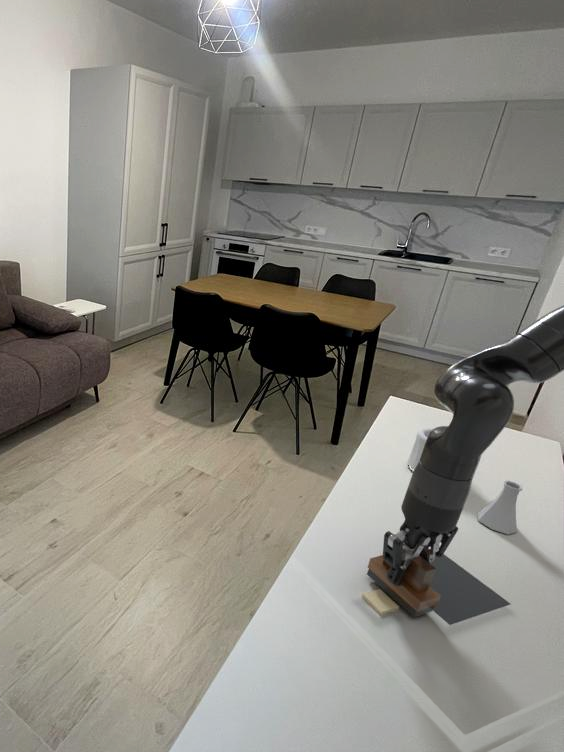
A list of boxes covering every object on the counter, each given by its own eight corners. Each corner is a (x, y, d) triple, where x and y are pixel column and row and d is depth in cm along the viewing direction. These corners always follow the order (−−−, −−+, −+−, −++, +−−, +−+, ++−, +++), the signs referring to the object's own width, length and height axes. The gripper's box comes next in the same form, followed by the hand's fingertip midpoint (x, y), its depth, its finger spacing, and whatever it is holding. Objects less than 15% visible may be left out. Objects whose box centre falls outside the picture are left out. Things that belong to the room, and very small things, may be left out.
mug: (444, 489, 119) (458, 452, 115) (398, 467, 127) (410, 433, 123) (466, 473, 126) (480, 439, 123) (422, 454, 134) (434, 421, 131)
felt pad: (377, 595, 85) (379, 588, 85) (397, 613, 82) (399, 606, 81) (359, 600, 84) (362, 593, 83) (378, 619, 80) (381, 612, 80)
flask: (471, 521, 107) (488, 482, 104) (481, 509, 112) (497, 471, 108) (511, 539, 102) (530, 499, 99) (520, 526, 107) (538, 487, 103)
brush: (384, 568, 89) (396, 532, 86) (434, 612, 80) (450, 573, 77) (365, 573, 87) (377, 537, 84) (414, 618, 79) (429, 579, 76)
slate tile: (435, 552, 97) (436, 548, 96) (509, 608, 85) (511, 603, 84) (377, 567, 92) (379, 563, 91) (447, 629, 79) (449, 624, 79)
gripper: (424, 515, 70) (391, 606, 77) (491, 500, 75) (455, 586, 82) (381, 486, 77) (354, 571, 83) (446, 473, 82) (415, 555, 88)
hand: (404, 578), depth 82 cm, fingers closed on brush, 4 cm apart
